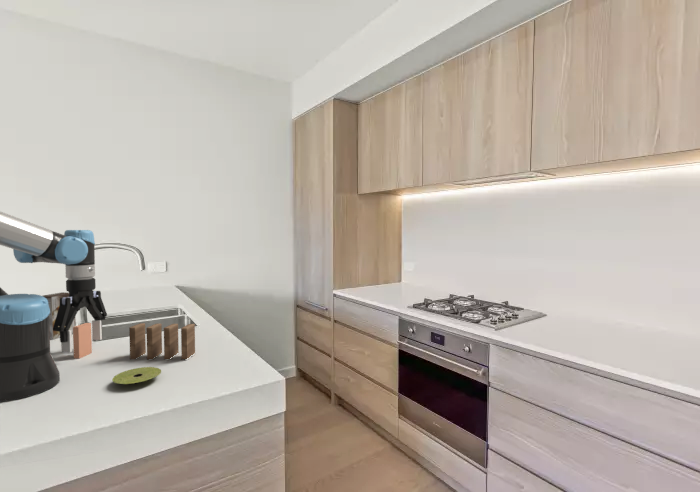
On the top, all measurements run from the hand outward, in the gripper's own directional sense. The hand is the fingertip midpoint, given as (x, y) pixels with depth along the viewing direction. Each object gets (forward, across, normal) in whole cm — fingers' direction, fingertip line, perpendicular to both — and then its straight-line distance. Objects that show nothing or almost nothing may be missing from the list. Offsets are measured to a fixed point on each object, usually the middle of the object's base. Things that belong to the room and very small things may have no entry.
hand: (82, 345), depth 116 cm
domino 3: (+3, 0, -24) cm, 24 cm away
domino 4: (+3, 0, -29) cm, 29 cm away
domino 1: (+3, 0, 0) cm, 3 cm away
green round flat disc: (+4, -19, -30) cm, 36 cm away
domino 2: (+3, 0, -18) cm, 18 cm away
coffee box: (+4, +21, +27) cm, 34 cm away
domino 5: (+3, 0, -34) cm, 35 cm away
